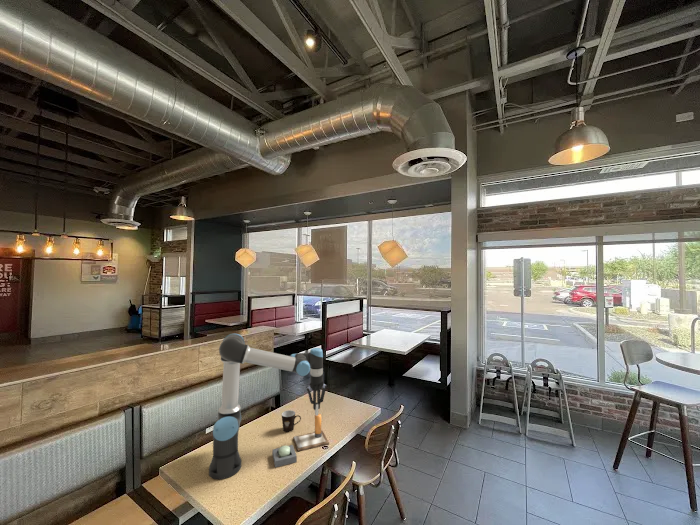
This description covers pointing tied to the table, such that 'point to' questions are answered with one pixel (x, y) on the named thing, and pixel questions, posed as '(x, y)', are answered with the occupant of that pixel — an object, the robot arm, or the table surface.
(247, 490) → the table surface
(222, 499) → the table surface
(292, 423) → the coffee mug
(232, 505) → the table surface
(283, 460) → the button housing
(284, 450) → the button
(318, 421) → the marker
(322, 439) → the board
